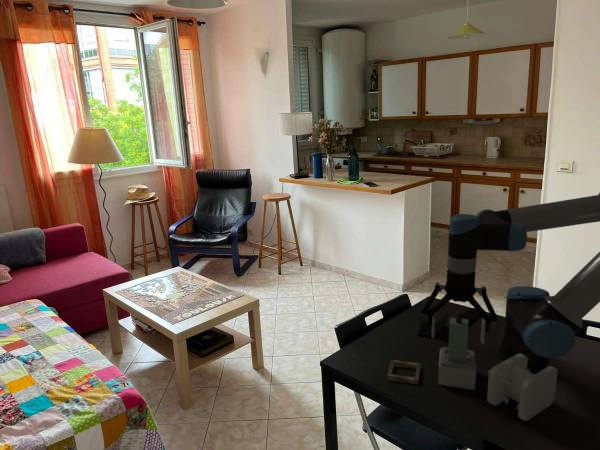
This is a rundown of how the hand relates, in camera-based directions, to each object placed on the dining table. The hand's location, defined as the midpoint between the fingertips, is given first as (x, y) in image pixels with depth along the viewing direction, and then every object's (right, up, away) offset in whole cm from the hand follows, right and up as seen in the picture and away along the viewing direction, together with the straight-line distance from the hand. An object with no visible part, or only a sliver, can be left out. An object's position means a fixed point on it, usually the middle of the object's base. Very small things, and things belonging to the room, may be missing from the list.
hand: (457, 338), depth 130 cm
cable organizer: (+13, -16, -10) cm, 23 cm away
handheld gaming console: (+2, -6, +31) cm, 32 cm away
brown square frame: (-14, -12, +6) cm, 20 cm away
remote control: (+19, -3, +40) cm, 44 cm away
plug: (0, -7, +2) cm, 7 cm away
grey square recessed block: (+1, -12, +3) cm, 13 cm away
